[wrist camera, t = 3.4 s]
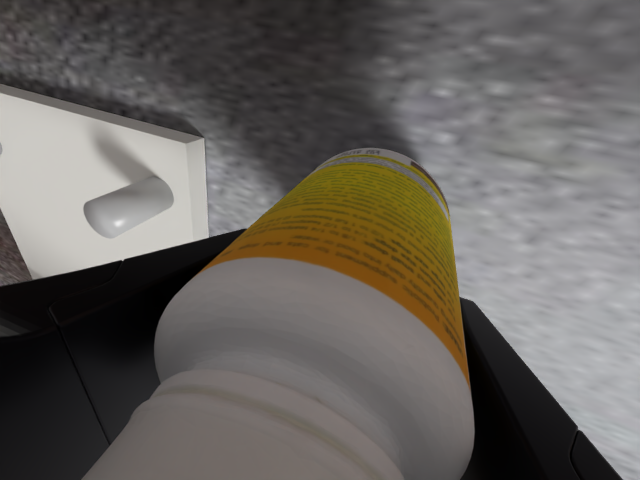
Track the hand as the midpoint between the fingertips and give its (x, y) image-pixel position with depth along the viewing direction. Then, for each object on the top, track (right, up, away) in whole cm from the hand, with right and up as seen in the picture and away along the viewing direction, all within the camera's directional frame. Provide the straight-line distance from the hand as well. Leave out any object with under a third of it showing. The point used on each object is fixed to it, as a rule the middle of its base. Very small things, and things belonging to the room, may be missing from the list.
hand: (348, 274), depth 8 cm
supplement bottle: (+1, +2, +3) cm, 4 cm away
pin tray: (-14, +1, +10) cm, 17 cm away
